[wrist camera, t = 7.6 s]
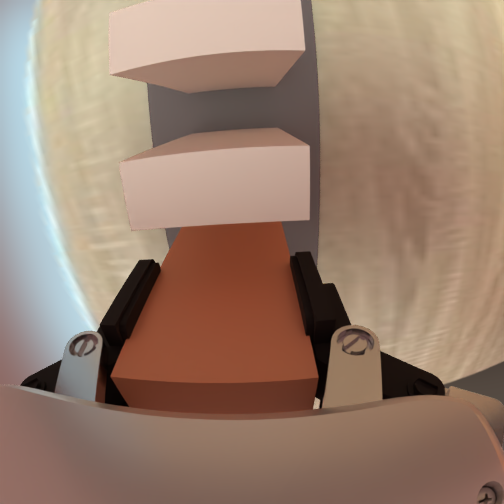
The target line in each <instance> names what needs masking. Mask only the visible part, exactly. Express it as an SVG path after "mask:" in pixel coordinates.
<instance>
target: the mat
mask: <svg viewBox="0 0 504 504" xmlns="http://www.w3.org/2000/svg"><path fill="white" fill-rule="evenodd" d="M301 8H302V18H303V28H304V40H305V52H304V53H303V54H302V55H301V56H300V57H299V59H298V60H297V61H296V62H295V63H294V64H293V66H292V67H291V68H290V69H289V70H288V72H287V73H286V74H285V75H284V76H283V78H282V79H281V80H280V81H279V83H278V84H277V85H276V86H275V87H251V88H235V89H223V90H213V91H204V92H196V93H189V94H188V93H185V92H181V91H178V90H174V89H170V88H167V87H163V86H159V85H155V84H151V83H147V87H148V101H149V112H150V123H151V132H152V141H153V148H155V147H157V146H160V145H162V144H165V143H168V142H170V141H173V140H176V139H178V138H181V137H184V136H187V135H190V134H194V133H203V132H213V131H224V130H237V129H254V128H279V129H281V130H283V131H285V132H286V133H288V134H290V135H292V136H294V137H295V138H297V139H299V140H301V141H302V142H304V143H306V144H308V145H309V146H310V220H299V221H281V223H282V226H283V230H284V234H285V238H286V242H287V246H288V249H289V253H290V256H295V252H304V251H310V252H311V255H312V257H313V260H314V262H315V265H316V267H317V257H318V236H319V207H320V121H319V93H318V74H317V58H316V45H315V33H314V23H313V13H312V4H311V0H301ZM181 228H182V227H172V228H165V229H166V234H167V240H168V245H169V250H170V248H171V246H172V244H173V242H174V241H175V239H176V237H177V235H178V233H179V231H180V229H181Z"/></svg>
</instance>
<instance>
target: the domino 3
mask: <svg viewBox="0 0 504 504" xmlns="http://www.w3.org/2000/svg"><path fill="white" fill-rule="evenodd" d="M160 268H161V272H160V274H159V276H158V278H157V280H156V282H155V284H154V286H153V288H152V290H151V293H150V295H149V297H148V299H147V301H146V303H145V305H144V307H143V310H142V312H141V314H140V316H139V318H138V321H137V323H136V325H135V327H134V330H133V332H132V334H131V336H130V339H126V341H125V343H124V345H123V348H122V350H121V352H120V355H119V357H118V359H117V362H116V364H115V366H114V369H113V371H112V374H111V376H110V377H111V378H112V380H113V382H114V383H115V385H116V387H117V388H118V390H119V391H120V393H121V395H122V396H123V398H124V399H125V401H126V402H127V404H128V406H129V407H132V408H139V409H148V410H158V411H169V412H183V413H204V414H256V413H278V412H292V411H303V410H313V405H314V400H315V395H316V389H317V384H318V378H319V377H318V372H317V368H316V363H315V358H314V354H313V349H312V345H311V340H310V336H306V334H305V329H304V325H303V320H302V316H301V311H300V307H299V302H298V298H297V293H296V289H295V285H294V280H293V276H292V272H291V268H290V253H289V249H288V246H287V242H286V238H285V234H284V230H283V226H282V223H281V221H276V222H255V223H236V224H218V225H202V226H187V227H182V228H181V229H180V231H179V233H178V235H177V237H176V239H175V241H174V242H173V244H172V246H171V248H170V250H169V252H168V254H167V256H166V258H165V260H164V261H163V263H162V265H161V267H160Z"/></svg>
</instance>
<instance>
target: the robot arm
mask: <svg viewBox="0 0 504 504" xmlns="http://www.w3.org/2000/svg"><path fill="white" fill-rule="evenodd" d="M290 268H291V272H292V276H293V280H294V285H295V289H296V293H297V298H298V302H299V307H300V311H301V316H302V320H303V325H304V329H305V334H306V336H310V340H311V345H312V349H313V354H314V358H315V363H316V368H317V372H318V377H319V378H318V384H317V389H316V395H315V397H316V398H318V399H319V400H320V402H319V408H318V409H313V410H303V411H292V412H278V413H256V414H204V413H183V412H169V411H158V410H148V409H139V408H132V407H129V406H128V404H127V402H126V401H125V399H124V398H123V396H122V395H121V393H120V391H119V390H118V388H117V387H116V385H115V383H114V382H113V380H112V378H111V377H110V376H111V374H112V371H113V369H114V366H115V364H116V362H117V359H118V357H119V355H120V352H121V350H122V348H123V345H124V343H125V341H126V339H130V336H131V334H132V332H133V330H134V327H135V325H136V323H137V321H138V318H139V316H140V314H141V312H142V310H143V307H144V305H145V303H146V301H147V299H148V297H149V295H150V293H151V290H152V288H153V286H154V284H155V282H156V280H157V278H158V276H159V274H160V272H161V268H160V265H159V263H155V261H154V260H153V259H151V260H139V261H138V263H137V264H136V266H135V268H134V269H133V271H132V272H131V274H130V275H129V277H128V278H127V280H126V282H125V283H124V285H123V286H122V288H121V290H120V291H119V293H118V295H117V296H116V298H115V300H114V301H113V303H112V305H111V306H110V308H109V310H108V311H107V313H106V315H105V316H104V318H103V320H102V322H101V323H100V327H99V329H98V331H97V332H95V331H85V332H81V333H79V334H77V335H75V336H74V337H72V338H71V339H70V340H69V342H68V343H67V345H66V347H65V351H64V355H63V359H62V360H60V361H58V362H56V363H54V364H52V365H50V366H48V367H46V368H44V369H42V370H40V371H39V372H37V373H35V374H33V375H31V376H29V377H28V378H26V379H25V380H24V381H23V382H22V384H21V385H20V386H17V385H0V504H504V452H503V449H502V444H503V438H504V406H503V405H502V403H501V402H500V401H498V400H496V399H494V398H490V397H487V396H483V395H480V394H476V393H473V392H469V391H466V390H462V389H459V388H456V387H453V386H450V388H449V389H447V388H445V387H444V385H443V383H442V382H441V380H440V379H439V378H438V377H436V376H434V375H433V374H431V373H429V372H426V371H424V370H422V369H419V368H417V367H415V366H413V365H410V364H408V363H406V362H404V361H401V360H399V359H397V358H395V357H392V356H390V355H388V354H386V353H384V352H381V351H380V344H379V340H378V337H377V336H376V334H375V333H374V332H372V331H371V330H370V329H368V328H365V327H363V326H358V325H351V323H350V321H349V318H348V316H347V313H346V311H345V308H344V306H343V304H342V301H341V299H340V297H339V294H338V292H337V289H336V287H335V285H334V284H333V283H327V284H323V283H322V280H321V278H320V275H319V273H318V270H317V267H316V265H315V262H314V260H313V257H312V255H311V252H310V251H304V252H295V256H290Z"/></svg>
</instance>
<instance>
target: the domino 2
mask: <svg viewBox="0 0 504 504" xmlns="http://www.w3.org/2000/svg"><path fill="white" fill-rule="evenodd" d="M119 168H120V174H121V180H122V186H123V191H124V197H125V202H126V207H127V212H128V217H129V222H130V226H131V231H134V230H146V229H159V228H172V227H187V226H202V225H218V224H236V223H255V222H276V221H299V220H310V146H309V145H308V144H306V143H304V142H302V141H301V140H299V139H297V138H295V137H294V136H292V135H290V134H288V133H286V132H285V131H283V130H281V129H279V128H254V129H237V130H224V131H213V132H203V133H194V134H190V135H187V136H184V137H181V138H178V139H176V140H173V141H170V142H168V143H165V144H162V145H160V146H157V147H155V148H152V149H150V150H147V151H145V152H142V153H140V154H137V155H135V156H133V157H130V158H128V159H126V160H124V161H121V162H119Z"/></svg>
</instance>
